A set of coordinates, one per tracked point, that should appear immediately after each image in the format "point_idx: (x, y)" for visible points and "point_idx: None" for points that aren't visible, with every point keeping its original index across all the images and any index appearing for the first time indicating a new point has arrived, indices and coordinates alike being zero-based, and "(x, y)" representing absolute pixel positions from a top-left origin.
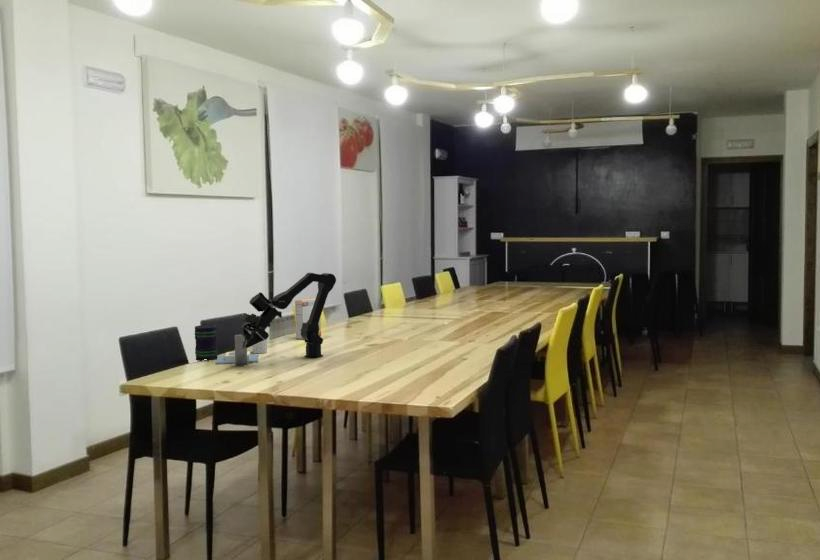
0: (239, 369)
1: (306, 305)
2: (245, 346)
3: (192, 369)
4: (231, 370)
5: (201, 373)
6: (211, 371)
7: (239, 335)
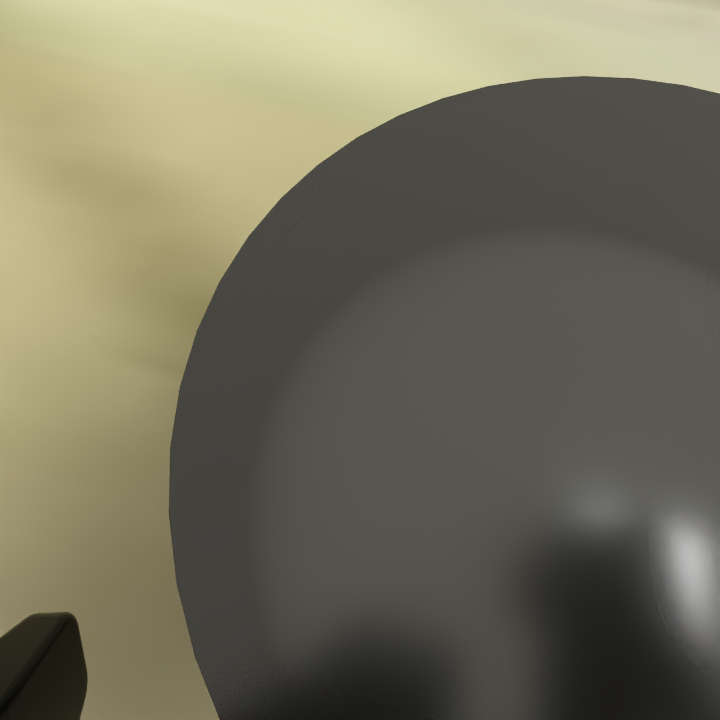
0: (55, 462)
1: None
2: (41, 615)
3: (468, 3)
4: (72, 335)
5: (159, 15)
6: (200, 118)
7: (688, 367)
